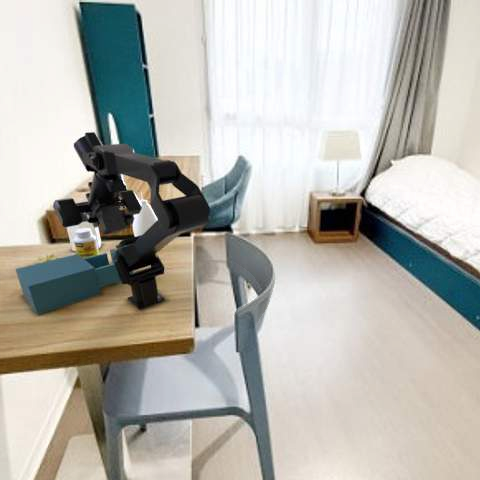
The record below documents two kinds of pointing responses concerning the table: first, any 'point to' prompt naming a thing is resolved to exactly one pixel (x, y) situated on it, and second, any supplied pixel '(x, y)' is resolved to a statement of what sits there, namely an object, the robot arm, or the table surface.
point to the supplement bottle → (85, 243)
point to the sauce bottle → (143, 218)
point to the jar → (84, 224)
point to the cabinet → (58, 283)
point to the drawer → (104, 268)
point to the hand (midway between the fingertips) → (95, 226)
